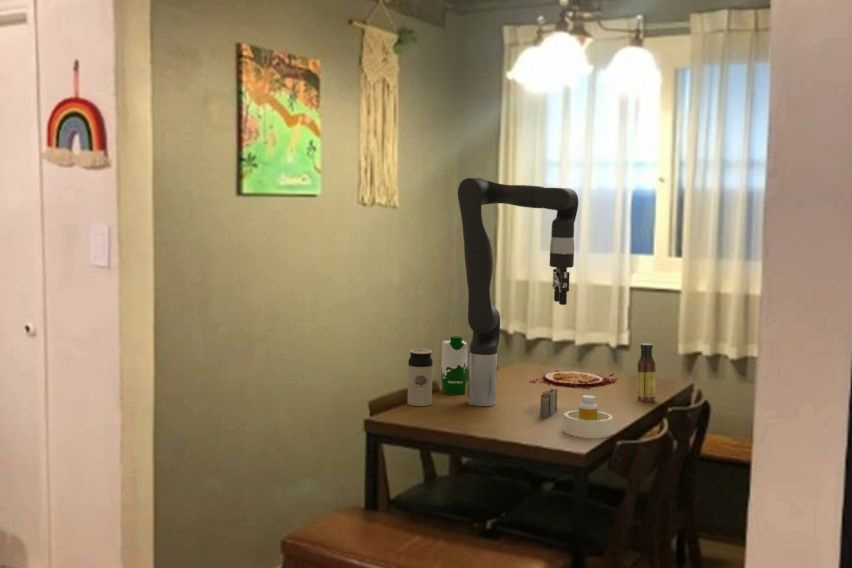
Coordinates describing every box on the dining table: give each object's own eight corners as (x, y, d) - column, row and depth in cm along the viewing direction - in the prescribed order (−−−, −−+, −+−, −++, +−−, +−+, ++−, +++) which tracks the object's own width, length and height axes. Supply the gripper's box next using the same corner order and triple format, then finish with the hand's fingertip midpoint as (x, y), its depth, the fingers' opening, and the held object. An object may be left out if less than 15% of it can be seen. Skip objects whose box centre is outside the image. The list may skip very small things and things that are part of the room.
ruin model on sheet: (549, 420, 293) (550, 389, 292) (540, 418, 294) (541, 388, 293) (558, 412, 303) (559, 383, 303) (548, 411, 305) (549, 382, 304)
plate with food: (556, 375, 371) (556, 366, 371) (617, 382, 357) (617, 373, 357) (528, 384, 352) (528, 375, 352) (591, 392, 337) (591, 383, 337)
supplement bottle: (596, 431, 273) (598, 398, 273) (578, 430, 274) (579, 397, 274) (596, 427, 279) (597, 395, 278) (578, 426, 280) (579, 394, 279)
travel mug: (410, 401, 314) (411, 348, 312) (433, 402, 312) (434, 349, 311) (405, 406, 306) (406, 351, 304) (429, 407, 304) (430, 353, 303)
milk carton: (443, 395, 324) (444, 338, 323) (439, 389, 333) (440, 334, 332) (468, 394, 326) (469, 338, 324) (463, 389, 335) (465, 334, 333)
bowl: (569, 437, 269) (569, 420, 269) (559, 426, 283) (560, 409, 283) (617, 438, 270) (617, 421, 270) (605, 426, 284) (605, 410, 284)
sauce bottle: (656, 400, 325) (659, 343, 323) (653, 403, 319) (655, 346, 317) (637, 397, 327) (640, 342, 326) (634, 401, 322) (636, 344, 320)
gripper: (546, 250, 299) (544, 300, 301) (554, 253, 285) (552, 305, 287) (569, 250, 300) (567, 300, 301) (578, 253, 286) (576, 306, 287)
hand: (560, 303), depth 294 cm, fingers open, 8 cm apart
